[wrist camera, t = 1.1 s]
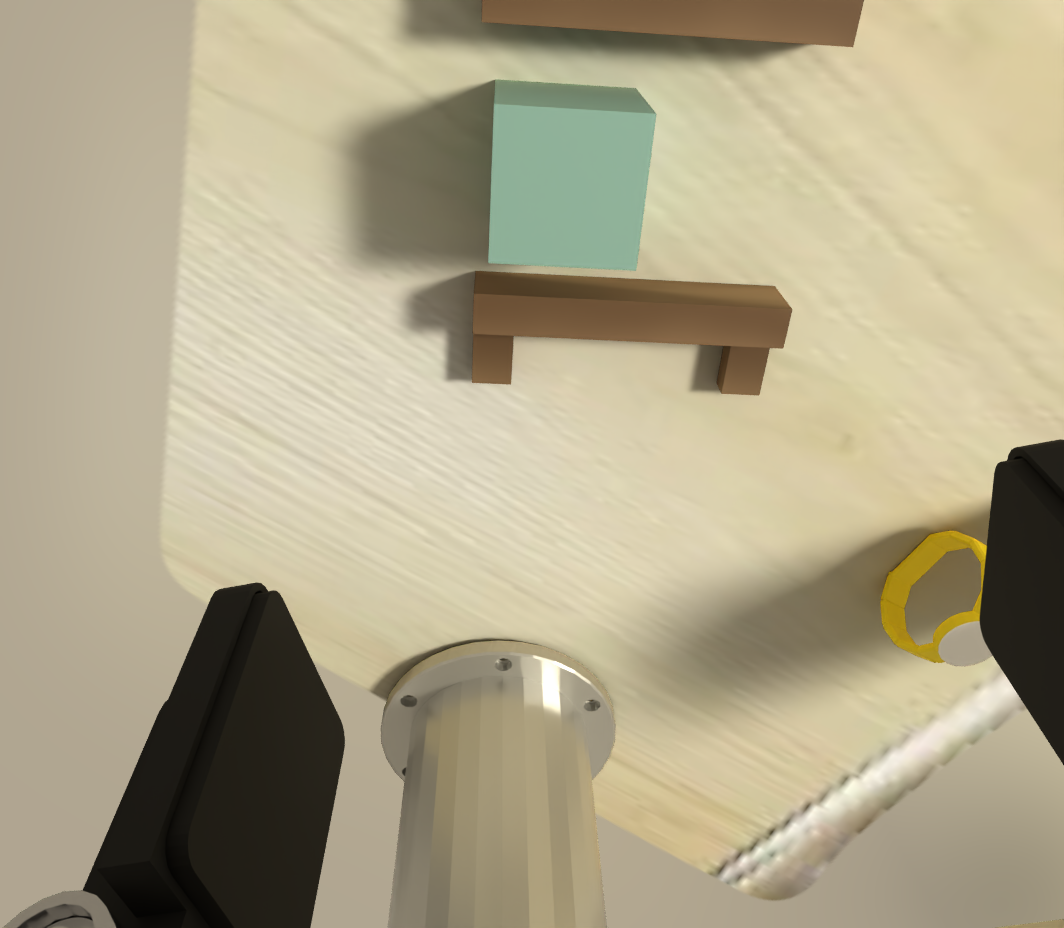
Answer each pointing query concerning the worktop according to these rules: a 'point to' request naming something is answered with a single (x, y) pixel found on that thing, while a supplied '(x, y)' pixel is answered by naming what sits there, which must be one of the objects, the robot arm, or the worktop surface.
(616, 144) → the block
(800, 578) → the worktop surface
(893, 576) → the watch
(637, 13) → the wooden brackets
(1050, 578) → the robot arm
